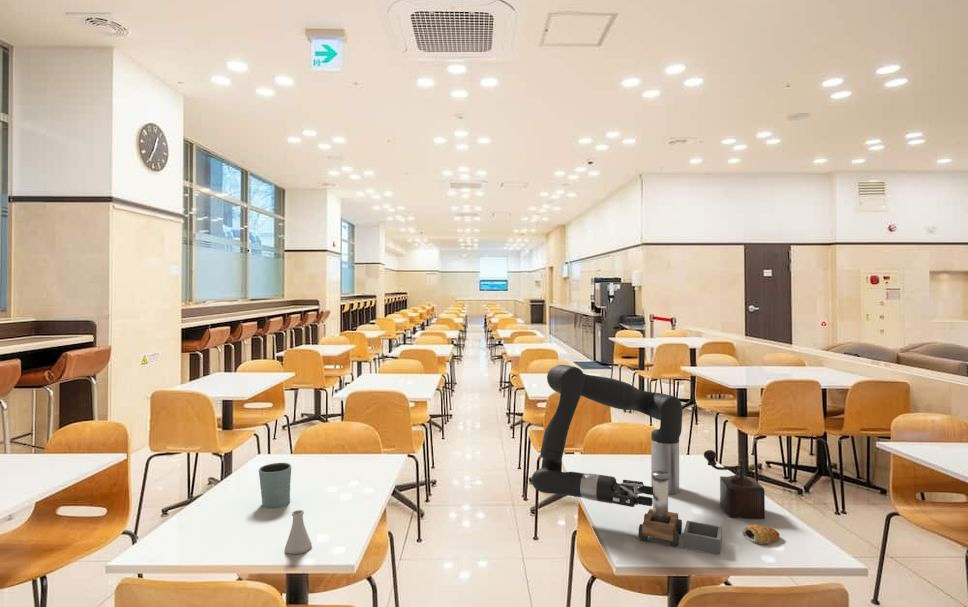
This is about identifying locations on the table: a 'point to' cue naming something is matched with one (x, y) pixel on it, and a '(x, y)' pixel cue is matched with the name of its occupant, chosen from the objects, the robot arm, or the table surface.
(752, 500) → the manual coffee grinder
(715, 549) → the tray
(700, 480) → the table surface
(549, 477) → the robot arm
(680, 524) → the trolley
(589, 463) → the table surface
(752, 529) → the pastry
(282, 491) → the grey cup
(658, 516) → the pin
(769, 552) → the table surface
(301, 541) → the flask
